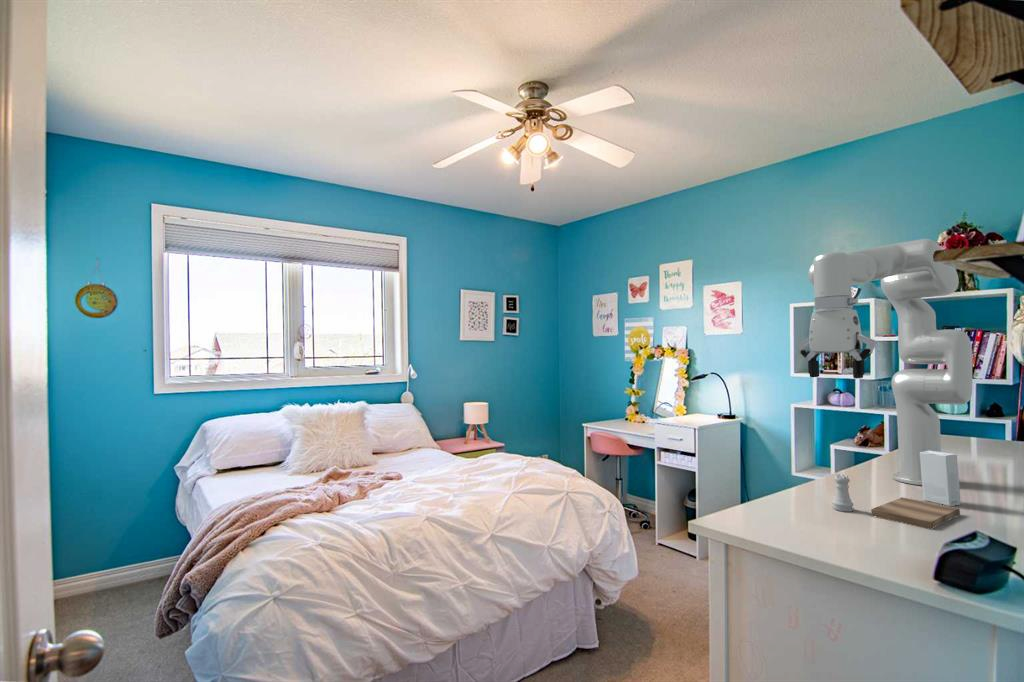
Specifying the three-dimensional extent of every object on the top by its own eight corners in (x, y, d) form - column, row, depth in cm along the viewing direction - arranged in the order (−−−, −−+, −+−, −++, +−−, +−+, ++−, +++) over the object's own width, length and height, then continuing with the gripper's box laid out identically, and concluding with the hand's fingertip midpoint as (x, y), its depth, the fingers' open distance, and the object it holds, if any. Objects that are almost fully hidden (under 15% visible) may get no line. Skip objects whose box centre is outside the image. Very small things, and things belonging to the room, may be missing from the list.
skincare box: (961, 504, 123) (959, 454, 123) (949, 507, 121) (947, 455, 122) (933, 498, 129) (930, 449, 129) (921, 500, 127) (919, 451, 127)
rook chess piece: (857, 512, 119) (856, 478, 119) (836, 512, 120) (835, 477, 120) (849, 507, 123) (847, 473, 123) (828, 506, 124) (827, 473, 124)
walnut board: (902, 503, 125) (902, 497, 125) (959, 514, 116) (959, 508, 116) (871, 515, 116) (871, 509, 116) (930, 529, 107) (930, 522, 107)
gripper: (881, 302, 117) (884, 377, 116) (804, 309, 131) (806, 376, 131) (866, 301, 113) (869, 379, 112) (788, 308, 127) (790, 377, 127)
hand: (835, 377), depth 122 cm, fingers open, 9 cm apart
